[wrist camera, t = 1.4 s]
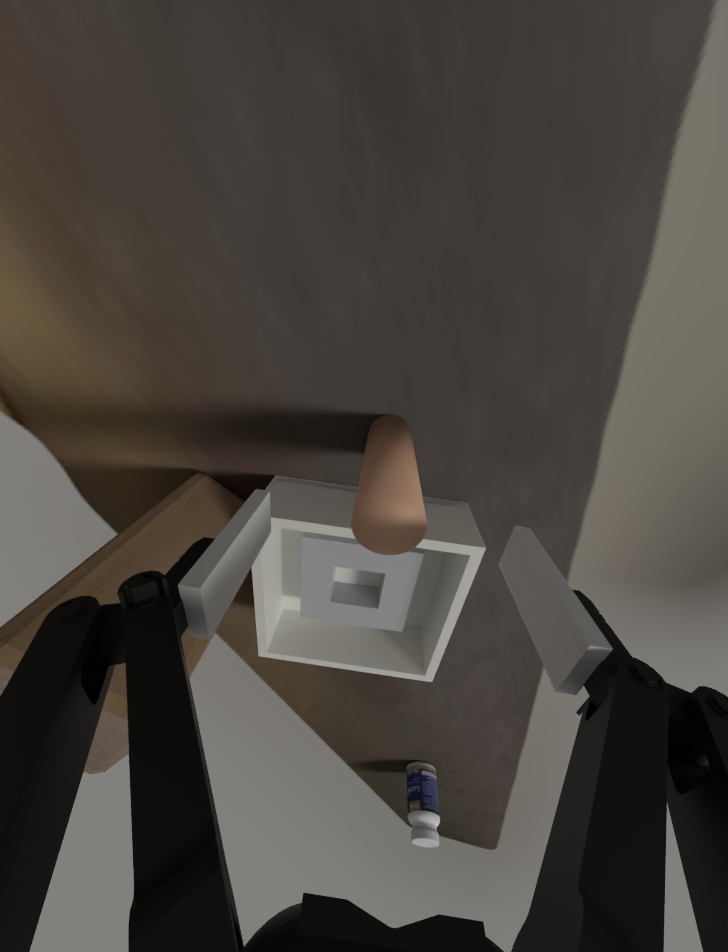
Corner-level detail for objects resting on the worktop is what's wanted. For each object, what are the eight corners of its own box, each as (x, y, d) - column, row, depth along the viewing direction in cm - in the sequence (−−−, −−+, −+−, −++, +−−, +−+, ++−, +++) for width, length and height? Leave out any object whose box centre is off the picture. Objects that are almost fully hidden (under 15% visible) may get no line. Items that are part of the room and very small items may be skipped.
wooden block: (279, 520, 34) (159, 739, 16) (235, 566, 38) (100, 782, 20) (201, 465, 31) (-42, 654, 14) (163, 520, 35) (-65, 722, 18)
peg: (371, 411, 27) (355, 488, 15) (414, 417, 27) (434, 499, 15) (365, 451, 29) (347, 549, 17) (406, 457, 29) (418, 559, 17)
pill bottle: (412, 757, 58) (416, 835, 50) (439, 764, 59) (448, 842, 50) (401, 768, 61) (403, 844, 52) (428, 775, 61) (434, 851, 53)
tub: (275, 475, 31) (247, 513, 25) (466, 502, 31) (486, 548, 25) (278, 604, 41) (258, 656, 34) (425, 626, 40) (431, 682, 34)
